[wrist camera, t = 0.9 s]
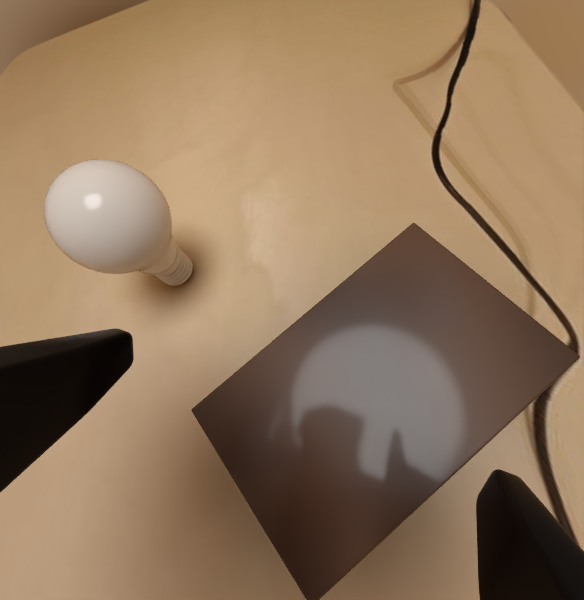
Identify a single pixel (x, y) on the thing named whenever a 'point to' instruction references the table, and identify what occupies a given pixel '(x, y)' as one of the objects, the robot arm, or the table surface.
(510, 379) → the shelf
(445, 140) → the table surface
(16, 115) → the table surface
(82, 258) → the lightbulb
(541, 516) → the robot arm
